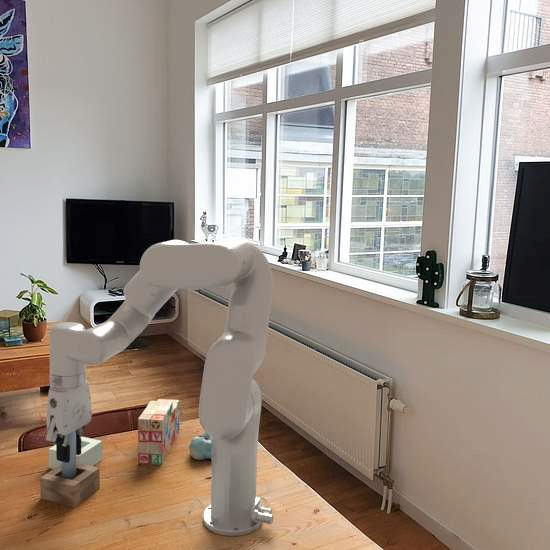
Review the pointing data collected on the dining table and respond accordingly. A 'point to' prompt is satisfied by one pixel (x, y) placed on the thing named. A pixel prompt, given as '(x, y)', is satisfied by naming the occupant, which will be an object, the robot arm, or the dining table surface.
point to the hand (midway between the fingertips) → (69, 456)
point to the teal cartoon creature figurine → (201, 447)
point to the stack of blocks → (157, 430)
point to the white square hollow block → (88, 456)
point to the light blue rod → (70, 468)
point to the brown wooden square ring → (70, 485)
